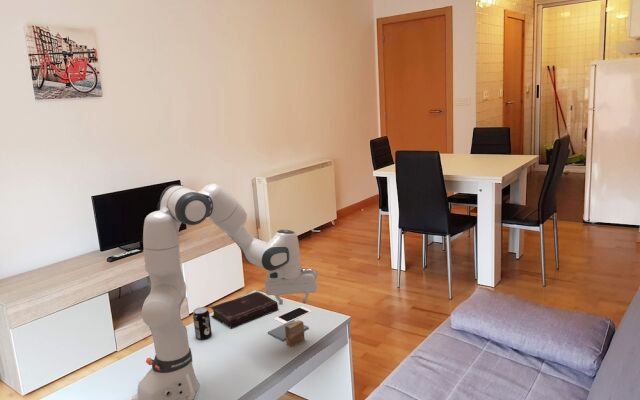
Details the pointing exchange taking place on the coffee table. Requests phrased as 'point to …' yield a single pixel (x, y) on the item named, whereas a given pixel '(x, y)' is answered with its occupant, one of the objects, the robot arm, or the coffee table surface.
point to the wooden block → (294, 333)
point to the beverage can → (202, 323)
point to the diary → (244, 309)
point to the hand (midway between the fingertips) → (293, 303)
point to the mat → (282, 331)
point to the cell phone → (292, 315)
